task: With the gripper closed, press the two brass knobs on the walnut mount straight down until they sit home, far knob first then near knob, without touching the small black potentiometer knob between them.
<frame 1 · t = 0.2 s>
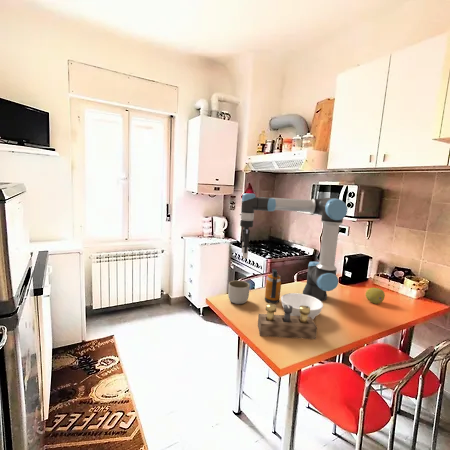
hand: (244, 255, 161), 28 cm above the table, fingers open, 13 cm apart
planter: (237, 301, 162), on the table
pot knob: (287, 315, 129), point 8 cm above the table, slide at 0.0 cm
bowl: (300, 315, 149), on the table
canister: (272, 301, 165), on the table
mount: (285, 331, 130), on the table
fruit: (373, 302, 174), on the table
knob far: (270, 314, 129), point 8 cm above the table, slide at 0.0 cm
knob near: (303, 316, 129), point 8 cm above the table, slide at 0.0 cm
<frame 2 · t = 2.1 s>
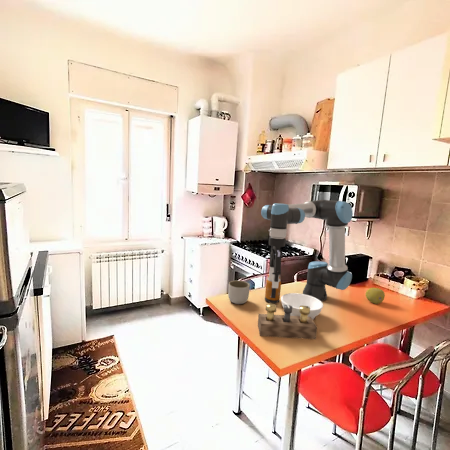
hand: (273, 283, 127), 24 cm above the table, fingers open, 9 cm apart
nothing on the table moved.
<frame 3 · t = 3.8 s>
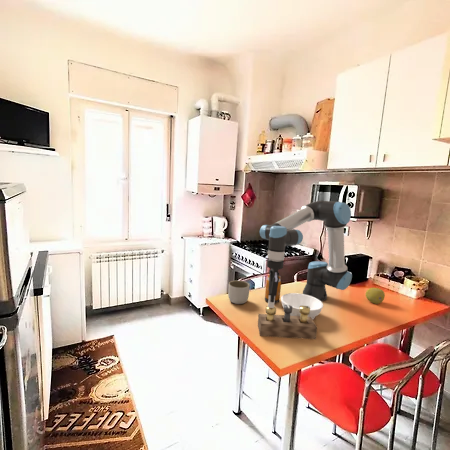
hand: (270, 307, 129), 12 cm above the table, fingers closed
knob far: (270, 317, 130), point 7 cm above the table, slide at 1.2 cm, touching gripper
everything else where it was.
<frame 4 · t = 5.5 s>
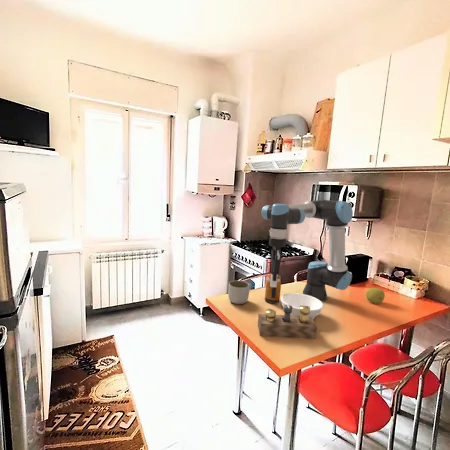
hand: (273, 286, 128), 22 cm above the table, fingers closed
knob far: (270, 320, 130), point 5 cm above the table, slide at 3.0 cm
everything else where it was.
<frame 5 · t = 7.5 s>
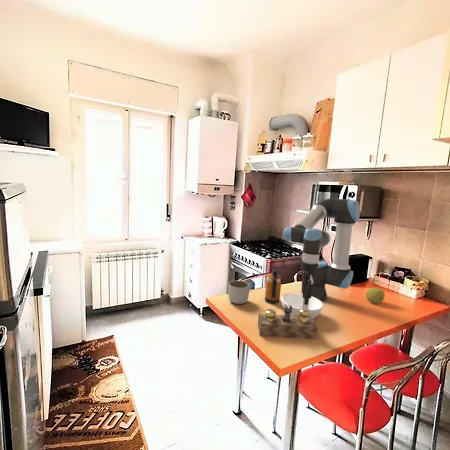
hand: (304, 309, 129), 12 cm above the table, fingers closed
knob near: (303, 319, 129), point 7 cm above the table, slide at 1.4 cm, touching gripper
everything else where it was.
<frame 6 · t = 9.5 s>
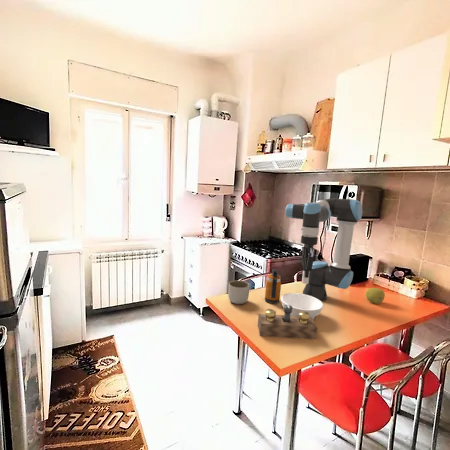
hand: (305, 283, 132), 23 cm above the table, fingers closed
knob near: (303, 322, 130), point 5 cm above the table, slide at 3.0 cm
everything else where it was.
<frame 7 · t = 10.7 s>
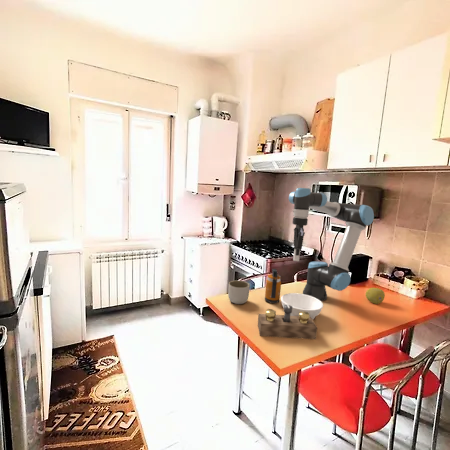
hand: (296, 260, 146), 30 cm above the table, fingers closed
nothing on the table moved.
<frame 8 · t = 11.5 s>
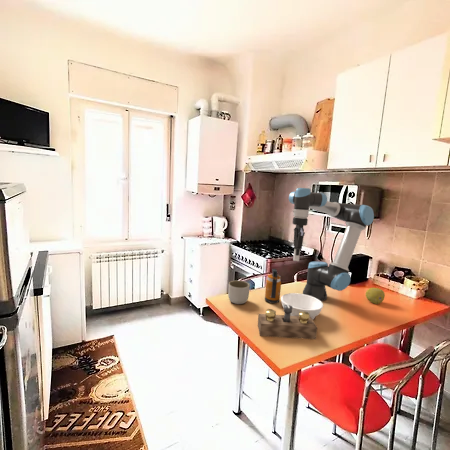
hand: (296, 260, 146), 30 cm above the table, fingers closed
nothing on the table moved.
at the end: knob far slide at 3.0 cm; knob near slide at 3.0 cm; pot knob slide at 0.0 cm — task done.
